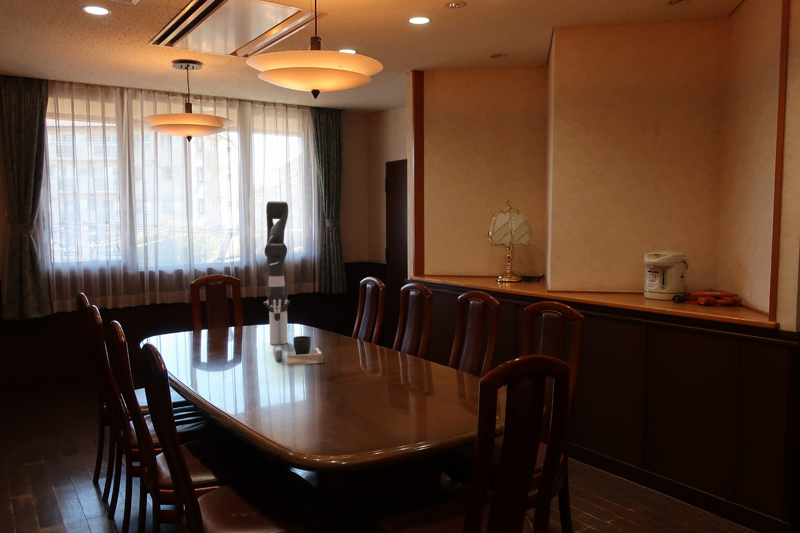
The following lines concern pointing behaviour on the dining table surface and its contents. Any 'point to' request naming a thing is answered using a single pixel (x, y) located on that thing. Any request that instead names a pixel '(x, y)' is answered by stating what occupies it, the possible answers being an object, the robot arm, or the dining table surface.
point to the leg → (276, 349)
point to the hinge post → (279, 355)
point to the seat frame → (305, 358)
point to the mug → (302, 344)
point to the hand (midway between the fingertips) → (277, 320)
